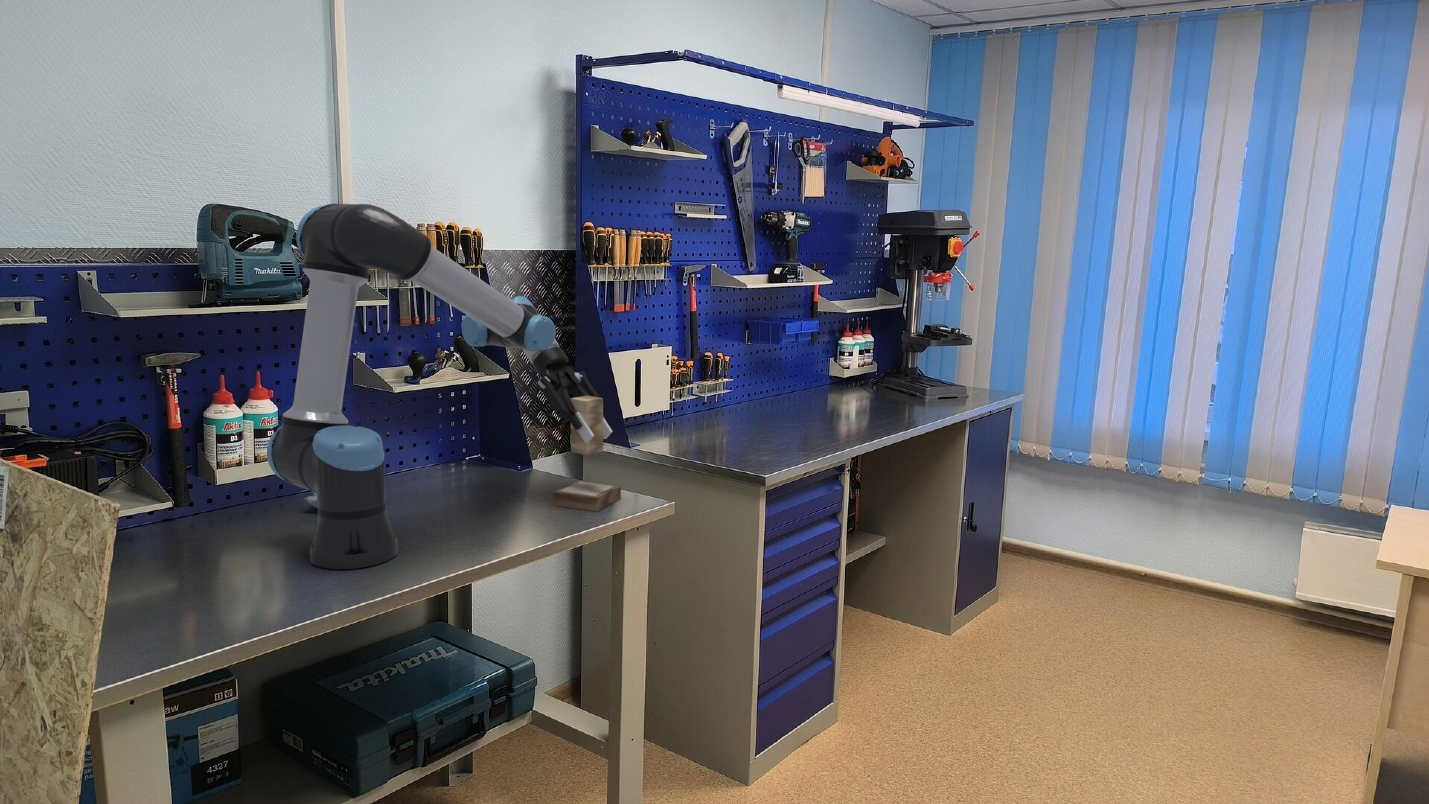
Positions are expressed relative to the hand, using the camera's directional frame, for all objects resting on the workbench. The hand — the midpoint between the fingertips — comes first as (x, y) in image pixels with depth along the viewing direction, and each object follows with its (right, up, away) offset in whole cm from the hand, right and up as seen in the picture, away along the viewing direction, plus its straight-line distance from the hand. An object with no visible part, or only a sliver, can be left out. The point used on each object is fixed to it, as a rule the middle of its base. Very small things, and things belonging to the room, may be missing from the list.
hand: (599, 437), depth 205 cm
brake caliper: (-57, -15, -2) cm, 59 cm away
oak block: (-3, -3, +3) cm, 5 cm away
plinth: (-3, -15, +5) cm, 16 cm away
